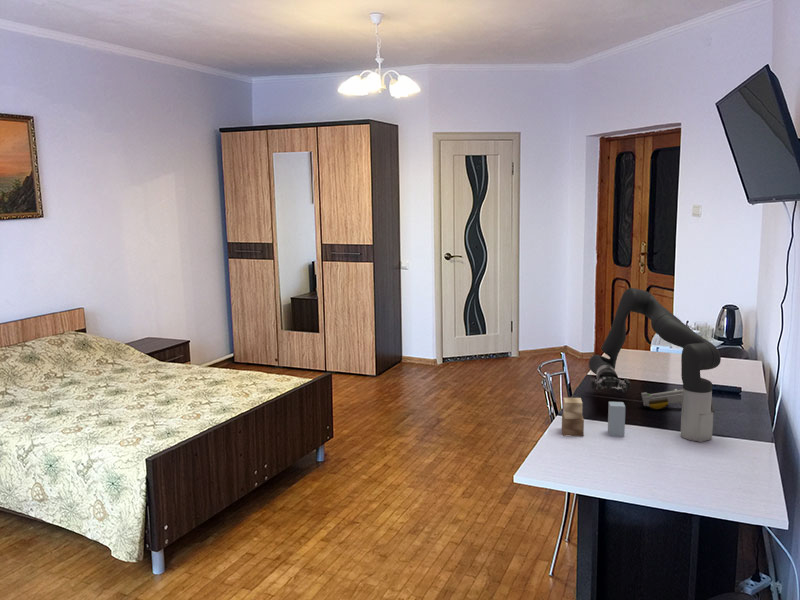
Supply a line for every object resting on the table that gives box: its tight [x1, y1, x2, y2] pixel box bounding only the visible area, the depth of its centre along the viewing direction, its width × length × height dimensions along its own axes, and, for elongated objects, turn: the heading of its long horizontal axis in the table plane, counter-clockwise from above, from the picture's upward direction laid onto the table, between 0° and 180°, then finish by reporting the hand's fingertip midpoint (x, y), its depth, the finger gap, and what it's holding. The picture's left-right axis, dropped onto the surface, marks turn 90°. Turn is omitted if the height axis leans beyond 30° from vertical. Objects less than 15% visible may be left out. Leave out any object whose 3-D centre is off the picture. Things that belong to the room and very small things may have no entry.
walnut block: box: [561, 412, 585, 437], centre depth 236 cm, size 7×7×6 cm
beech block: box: [562, 397, 583, 420], centre depth 235 cm, size 6×6×6 cm
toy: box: [640, 388, 715, 412], centre depth 258 cm, size 6×25×11 cm, turn 78°
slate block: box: [607, 401, 626, 438], centre depth 233 cm, size 5×5×11 cm
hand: (612, 389), depth 243 cm, fingers open, 8 cm apart
